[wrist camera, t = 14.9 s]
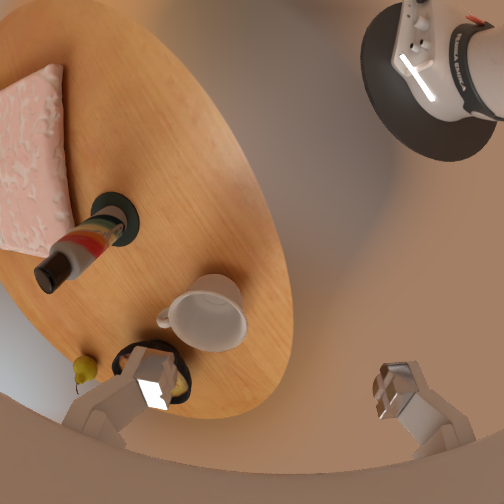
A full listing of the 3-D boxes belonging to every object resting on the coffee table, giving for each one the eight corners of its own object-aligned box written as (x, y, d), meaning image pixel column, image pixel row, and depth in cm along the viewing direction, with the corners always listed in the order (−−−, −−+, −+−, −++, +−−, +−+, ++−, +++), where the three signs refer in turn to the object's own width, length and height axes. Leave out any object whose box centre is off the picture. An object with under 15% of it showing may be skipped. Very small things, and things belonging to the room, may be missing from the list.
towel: (-24, 107, 34) (-40, 111, 29) (70, 62, 33) (49, 60, 27) (-4, 243, 50) (-18, 253, 45) (87, 250, 49) (71, 264, 43)
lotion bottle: (131, 235, 46) (65, 303, 28) (104, 236, 46) (36, 300, 29) (124, 203, 43) (48, 261, 26) (97, 206, 44) (21, 261, 26)
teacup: (162, 262, 48) (140, 295, 39) (246, 253, 46) (239, 287, 37) (181, 316, 54) (166, 353, 45) (257, 311, 52) (253, 351, 43)
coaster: (88, 192, 43) (87, 193, 43) (136, 191, 43) (135, 192, 42) (96, 244, 48) (95, 245, 47) (142, 247, 47) (141, 248, 47)
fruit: (78, 357, 65) (59, 387, 54) (82, 345, 62) (61, 378, 51) (98, 371, 66) (81, 402, 56) (103, 360, 64) (85, 394, 53)
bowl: (187, 385, 64) (178, 417, 55) (123, 357, 62) (108, 387, 53) (209, 345, 56) (199, 382, 48) (132, 311, 54) (113, 344, 45)
